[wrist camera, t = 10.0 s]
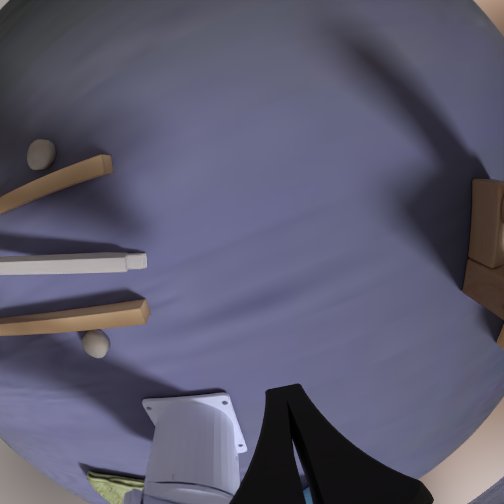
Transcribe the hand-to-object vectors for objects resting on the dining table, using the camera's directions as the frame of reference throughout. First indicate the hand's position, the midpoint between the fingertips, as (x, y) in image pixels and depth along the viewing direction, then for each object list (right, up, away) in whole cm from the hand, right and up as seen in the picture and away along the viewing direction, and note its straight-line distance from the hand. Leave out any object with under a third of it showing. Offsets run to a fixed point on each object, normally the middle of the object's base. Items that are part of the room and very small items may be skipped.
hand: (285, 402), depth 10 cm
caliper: (-19, +6, +8) cm, 21 cm away
